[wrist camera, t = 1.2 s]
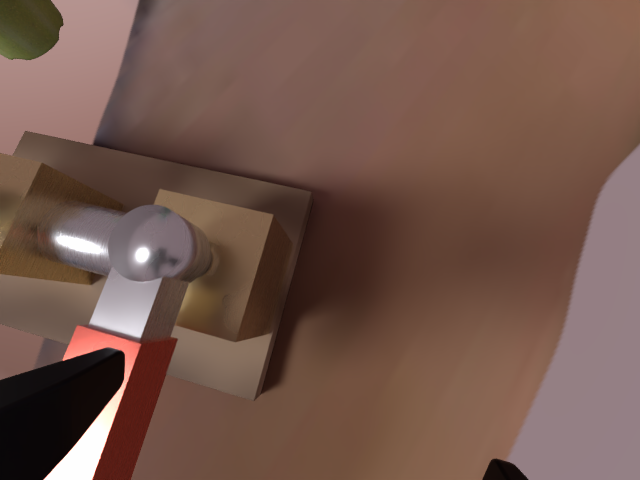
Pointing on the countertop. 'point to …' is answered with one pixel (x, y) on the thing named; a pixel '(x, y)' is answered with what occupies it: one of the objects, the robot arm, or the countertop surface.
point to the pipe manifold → (95, 230)
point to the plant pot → (28, 28)
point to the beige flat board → (80, 300)
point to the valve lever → (135, 334)
